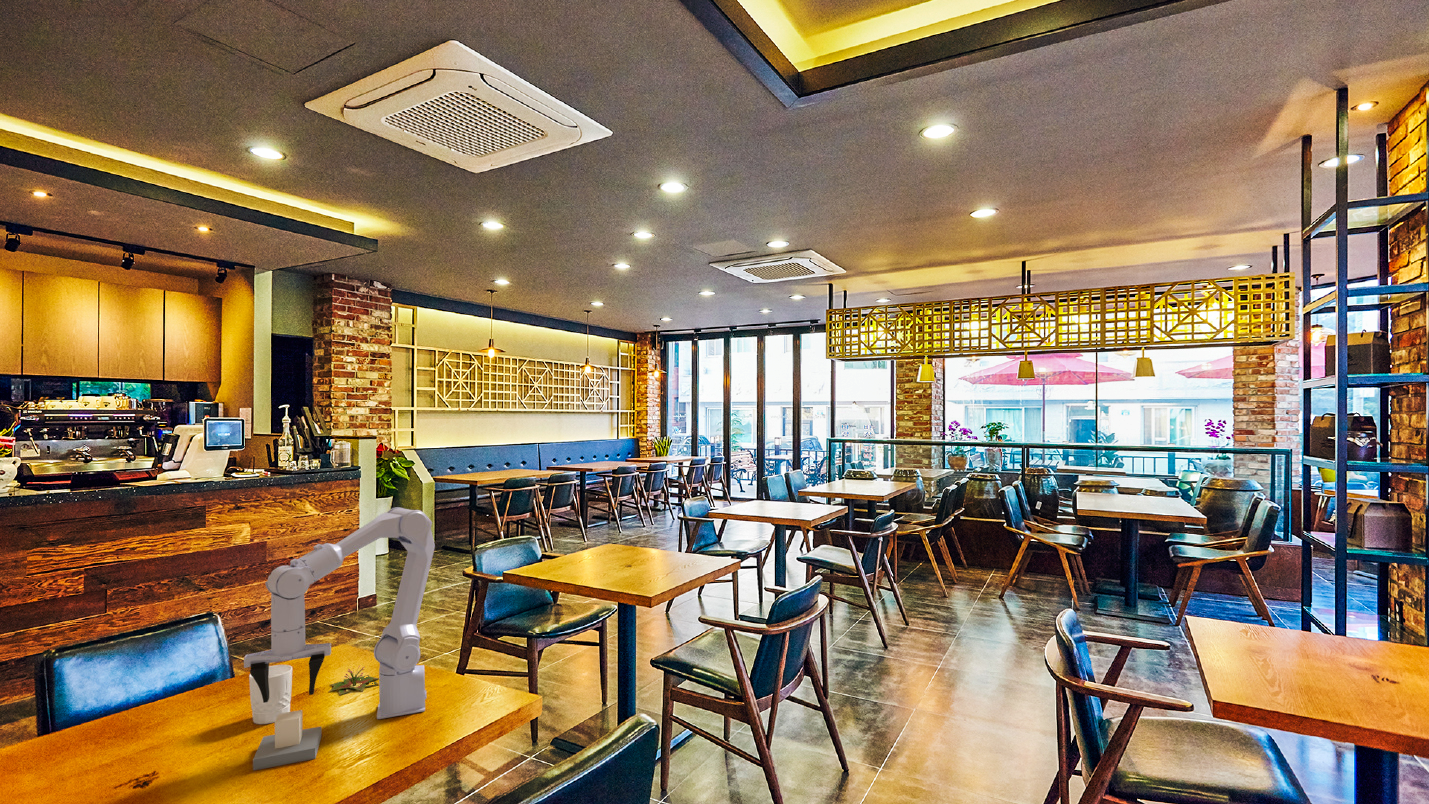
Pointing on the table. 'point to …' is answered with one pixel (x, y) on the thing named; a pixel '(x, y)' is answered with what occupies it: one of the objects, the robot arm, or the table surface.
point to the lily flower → (352, 682)
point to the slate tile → (287, 750)
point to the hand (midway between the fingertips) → (289, 696)
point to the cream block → (288, 729)
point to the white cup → (272, 695)
